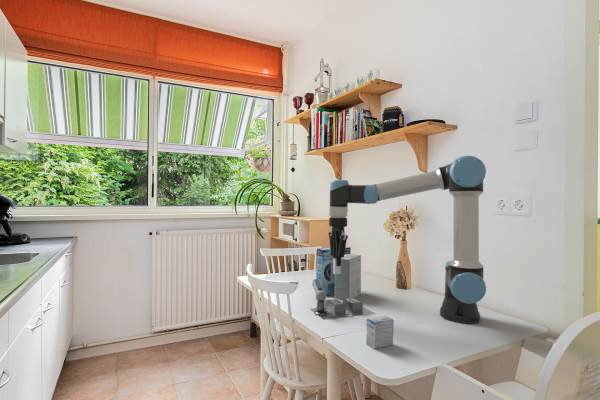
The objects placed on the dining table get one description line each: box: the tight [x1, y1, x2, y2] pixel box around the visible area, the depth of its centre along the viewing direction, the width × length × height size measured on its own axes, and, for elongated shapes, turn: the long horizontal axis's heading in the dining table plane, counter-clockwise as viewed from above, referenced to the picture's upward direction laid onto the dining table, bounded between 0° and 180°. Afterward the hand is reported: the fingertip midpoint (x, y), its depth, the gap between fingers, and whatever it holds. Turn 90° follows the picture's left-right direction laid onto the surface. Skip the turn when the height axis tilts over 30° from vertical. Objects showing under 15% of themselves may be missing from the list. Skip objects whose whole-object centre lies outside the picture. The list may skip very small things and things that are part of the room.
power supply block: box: [325, 298, 346, 315], centre depth 147 cm, size 8×5×4 cm, turn 22°
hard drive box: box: [334, 253, 362, 301], centre depth 171 cm, size 16×8×20 cm, turn 149°
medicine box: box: [365, 315, 395, 350], centre depth 115 cm, size 8×4×9 cm, turn 118°
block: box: [342, 297, 364, 314], centre depth 149 cm, size 8×5×4 cm, turn 22°
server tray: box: [309, 300, 377, 320], centre depth 148 cm, size 14×25×6 cm, turn 112°
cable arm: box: [311, 278, 327, 301], centre depth 154 cm, size 25×4×4 cm, turn 3°
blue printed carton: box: [315, 245, 352, 296], centre depth 179 cm, size 20×5×23 cm, turn 126°
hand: (336, 273), depth 147 cm, fingers closed
